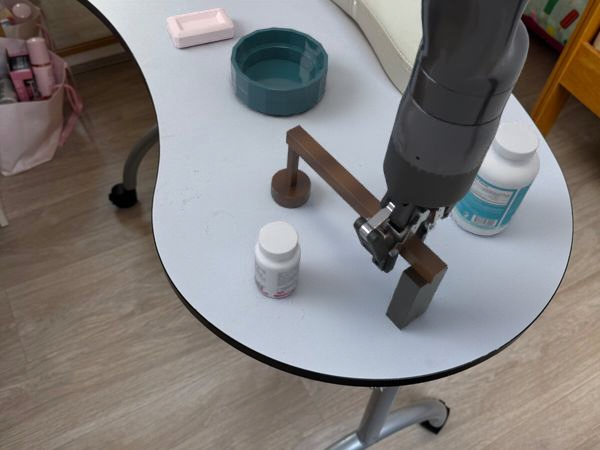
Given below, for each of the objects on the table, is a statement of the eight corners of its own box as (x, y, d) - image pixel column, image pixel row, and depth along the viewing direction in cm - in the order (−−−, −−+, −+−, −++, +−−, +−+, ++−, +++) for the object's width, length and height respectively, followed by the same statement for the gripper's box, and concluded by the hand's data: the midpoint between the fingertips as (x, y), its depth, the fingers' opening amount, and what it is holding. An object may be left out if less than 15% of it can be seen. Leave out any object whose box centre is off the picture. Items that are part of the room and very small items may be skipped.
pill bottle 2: (489, 185, 75) (530, 106, 65) (519, 230, 71) (567, 155, 61) (437, 197, 74) (470, 118, 63) (465, 244, 70) (504, 169, 59)
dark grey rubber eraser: (384, 314, 63) (402, 271, 56) (410, 295, 65) (431, 250, 58) (400, 330, 62) (419, 288, 55) (426, 310, 64) (448, 267, 57)
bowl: (338, 74, 86) (342, 46, 82) (300, 130, 79) (303, 102, 75) (258, 45, 89) (259, 17, 85) (215, 97, 82) (213, 69, 78)
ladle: (263, 189, 73) (264, 126, 64) (293, 172, 74) (299, 109, 66) (399, 334, 62) (423, 283, 53) (430, 310, 64) (458, 257, 55)
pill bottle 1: (300, 266, 66) (306, 222, 60) (293, 302, 64) (298, 261, 57) (259, 258, 67) (260, 214, 60) (250, 294, 64) (250, 252, 57)
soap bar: (235, 38, 89) (234, 25, 88) (177, 50, 87) (175, 36, 85) (223, 18, 92) (223, 4, 90) (167, 29, 90) (165, 15, 88)
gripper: (410, 209, 41) (370, 320, 55) (534, 128, 47) (469, 247, 61) (341, 145, 44) (319, 265, 58) (465, 76, 50) (418, 200, 64)
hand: (396, 255), depth 60 cm, fingers open, 3 cm apart
